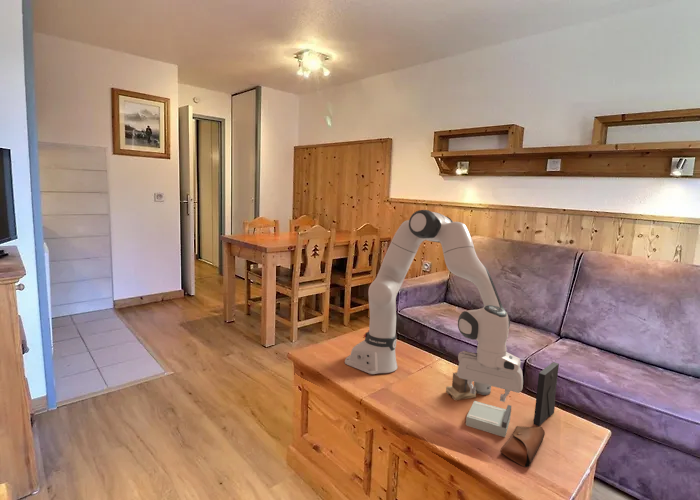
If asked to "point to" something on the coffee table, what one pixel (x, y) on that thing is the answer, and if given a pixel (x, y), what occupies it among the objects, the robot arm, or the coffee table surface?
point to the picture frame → (546, 393)
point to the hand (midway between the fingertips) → (487, 396)
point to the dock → (489, 418)
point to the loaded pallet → (456, 394)
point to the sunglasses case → (523, 444)
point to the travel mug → (482, 388)
